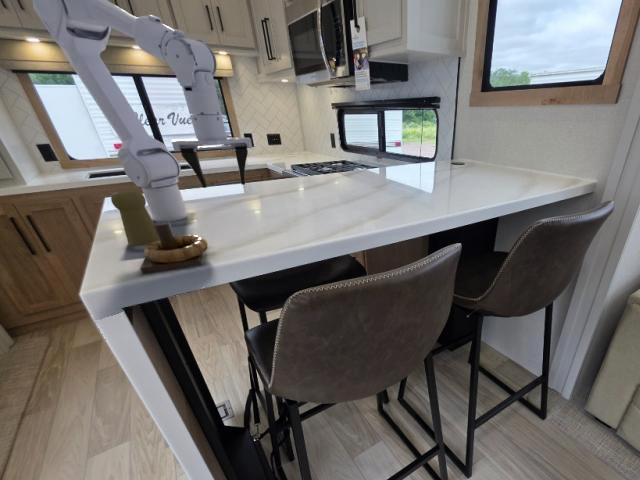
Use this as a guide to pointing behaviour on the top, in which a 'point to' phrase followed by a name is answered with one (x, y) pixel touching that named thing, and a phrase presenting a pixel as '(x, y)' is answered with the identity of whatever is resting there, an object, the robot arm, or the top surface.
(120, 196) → the cork
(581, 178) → the top surface
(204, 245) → the ring
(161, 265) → the holder
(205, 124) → the robot arm
